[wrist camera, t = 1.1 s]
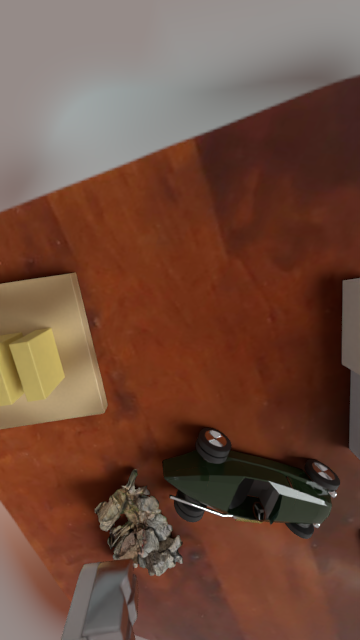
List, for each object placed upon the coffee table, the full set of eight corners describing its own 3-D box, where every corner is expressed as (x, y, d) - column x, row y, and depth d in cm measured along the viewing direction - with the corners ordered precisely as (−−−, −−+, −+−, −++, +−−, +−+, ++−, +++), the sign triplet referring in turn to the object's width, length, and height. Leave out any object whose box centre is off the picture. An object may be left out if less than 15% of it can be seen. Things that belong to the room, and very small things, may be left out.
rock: (169, 460, 29) (170, 490, 25) (186, 556, 32) (188, 595, 29) (96, 472, 28) (86, 504, 25) (121, 567, 32) (115, 608, 28)
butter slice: (35, 329, 23) (8, 344, 19) (51, 327, 23) (27, 341, 19) (50, 379, 24) (27, 402, 20) (65, 377, 24) (45, 399, 20)
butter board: (-64, 293, 23) (-80, 295, 22) (76, 272, 23) (69, 273, 22) (-14, 423, 26) (-25, 433, 25) (107, 404, 27) (104, 413, 25)
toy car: (304, 517, 32) (328, 563, 27) (151, 485, 29) (148, 529, 24) (336, 457, 30) (368, 495, 25) (174, 417, 27) (176, 451, 23)
